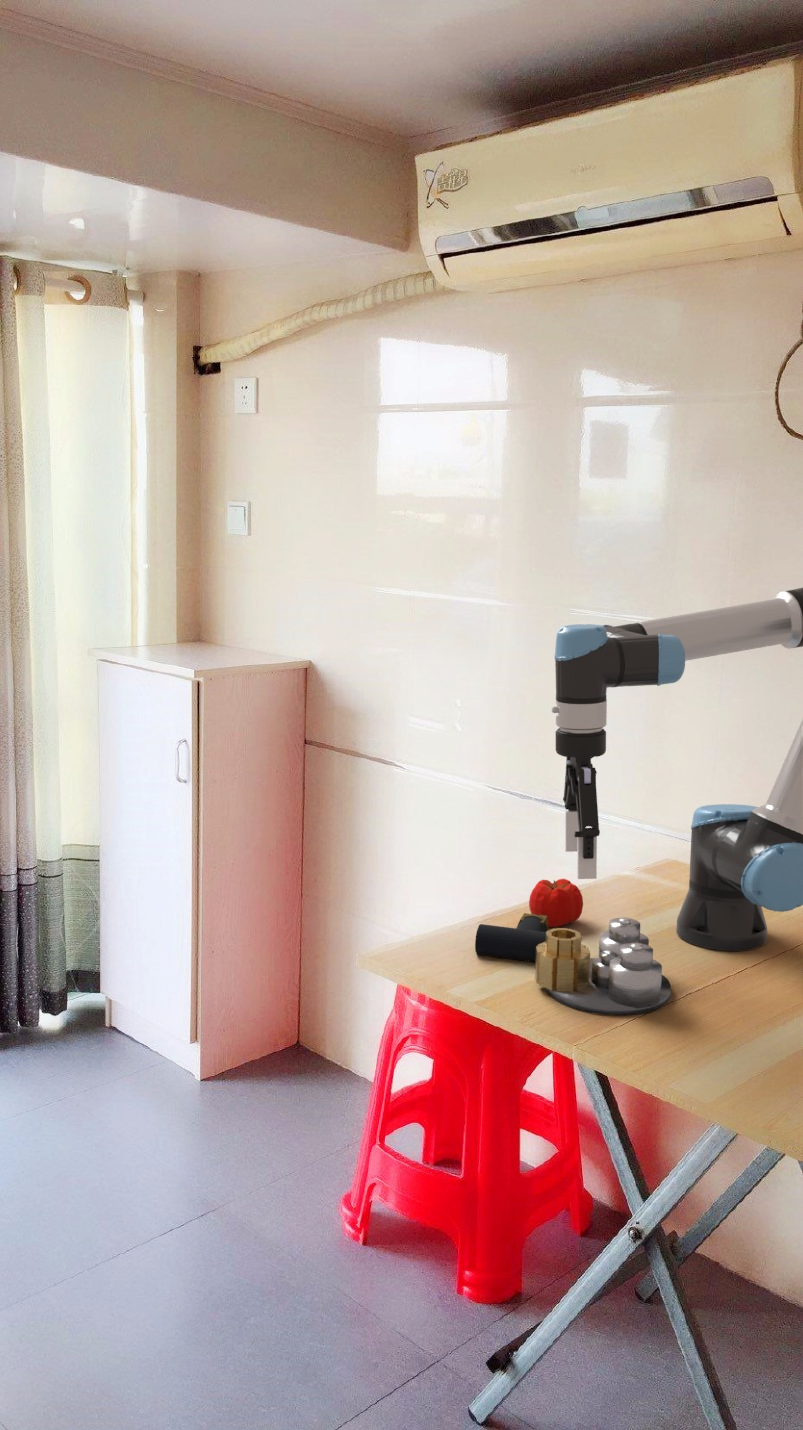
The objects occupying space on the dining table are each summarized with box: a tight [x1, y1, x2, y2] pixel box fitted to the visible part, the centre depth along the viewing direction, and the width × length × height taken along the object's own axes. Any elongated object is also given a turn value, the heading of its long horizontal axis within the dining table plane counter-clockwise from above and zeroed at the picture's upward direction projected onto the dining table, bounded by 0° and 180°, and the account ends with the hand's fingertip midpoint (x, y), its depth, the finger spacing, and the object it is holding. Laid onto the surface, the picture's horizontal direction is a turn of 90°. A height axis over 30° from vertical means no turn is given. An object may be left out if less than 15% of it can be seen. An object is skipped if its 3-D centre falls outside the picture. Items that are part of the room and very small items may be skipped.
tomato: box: [528, 878, 584, 928], centre depth 207 cm, size 9×9×8 cm
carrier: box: [545, 917, 672, 1017], centre depth 178 cm, size 19×19×9 cm
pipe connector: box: [474, 912, 550, 963], centre depth 193 cm, size 12×5×15 cm
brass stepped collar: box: [534, 927, 591, 992], centre depth 178 cm, size 8×8×8 cm
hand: (580, 864), depth 178 cm, fingers open, 13 cm apart
